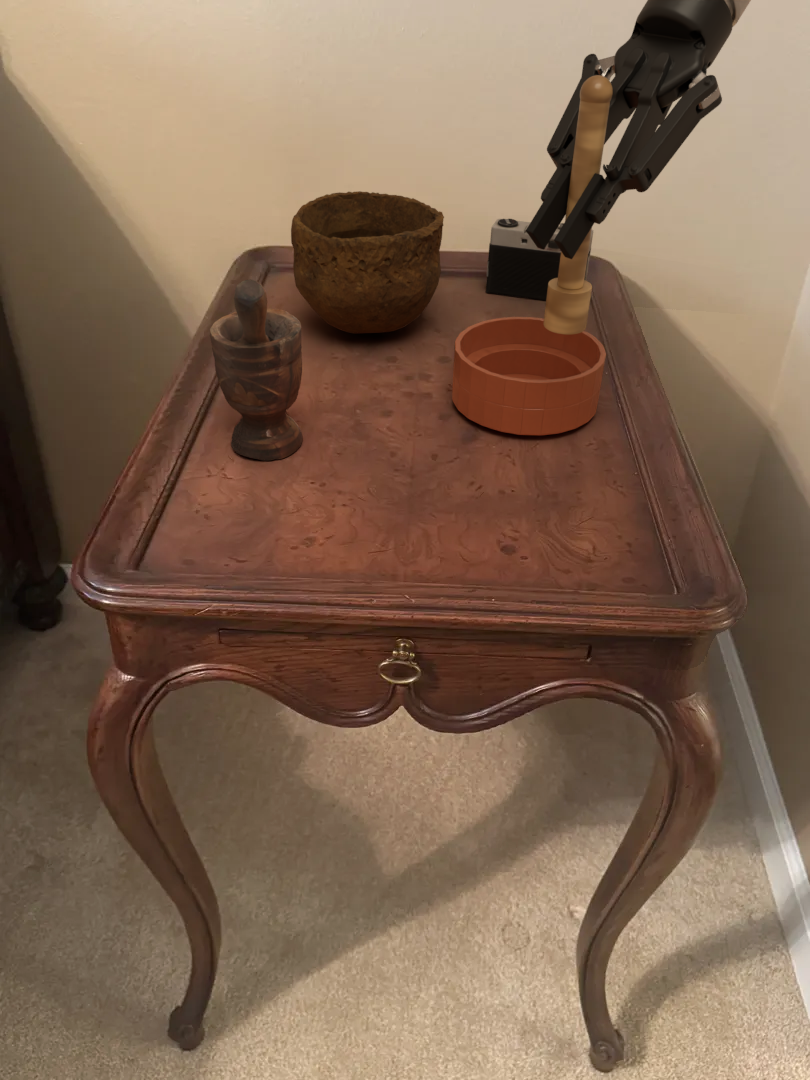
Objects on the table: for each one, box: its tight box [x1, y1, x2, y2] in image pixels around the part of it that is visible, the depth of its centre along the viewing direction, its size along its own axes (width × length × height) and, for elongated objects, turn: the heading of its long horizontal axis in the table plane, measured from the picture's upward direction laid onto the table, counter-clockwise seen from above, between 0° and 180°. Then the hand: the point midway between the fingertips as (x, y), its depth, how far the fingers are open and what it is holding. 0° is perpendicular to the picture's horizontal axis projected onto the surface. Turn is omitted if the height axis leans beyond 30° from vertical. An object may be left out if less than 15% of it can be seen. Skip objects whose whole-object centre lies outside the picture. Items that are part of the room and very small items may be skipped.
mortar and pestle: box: [209, 278, 303, 462], centre depth 85 cm, size 12×9×20 cm
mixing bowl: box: [451, 316, 607, 436], centre depth 98 cm, size 16×16×7 cm
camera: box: [485, 218, 594, 302], centre depth 124 cm, size 14×9×10 cm, turn 65°
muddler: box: [543, 75, 613, 335], centre depth 77 cm, size 4×4×21 cm
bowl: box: [290, 190, 445, 334], centre depth 111 cm, size 19×19×15 cm
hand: (549, 244), depth 76 cm, fingers closed on muddler, 2 cm apart
